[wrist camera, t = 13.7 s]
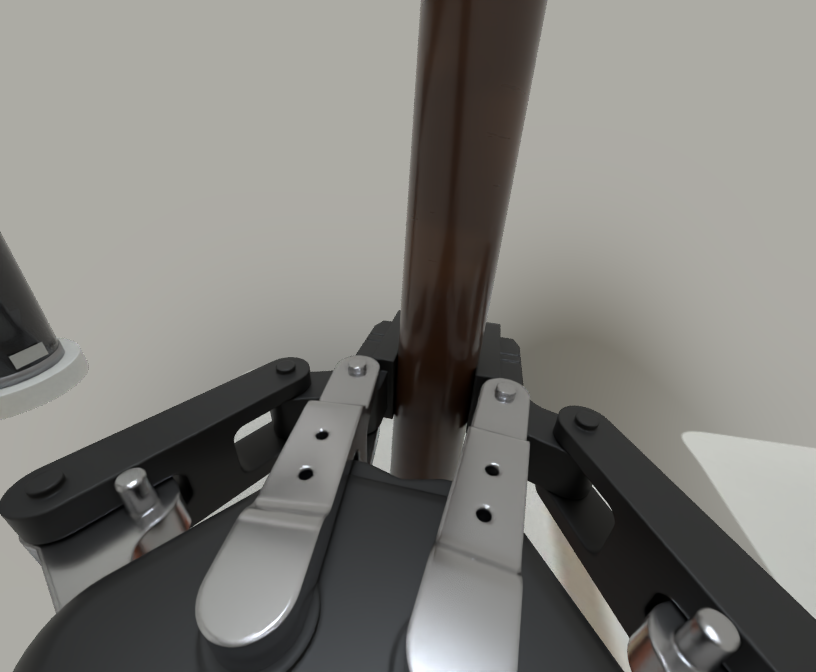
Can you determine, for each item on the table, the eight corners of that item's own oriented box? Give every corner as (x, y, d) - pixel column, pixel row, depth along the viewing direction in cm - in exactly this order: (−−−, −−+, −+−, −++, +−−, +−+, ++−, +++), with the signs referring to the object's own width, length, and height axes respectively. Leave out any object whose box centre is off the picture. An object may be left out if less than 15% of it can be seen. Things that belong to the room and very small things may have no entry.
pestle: (350, 690, 16) (333, -542, 3) (360, 575, 20) (370, -150, 8) (457, 690, 16) (821, -455, 4) (445, 577, 20) (589, -123, 8)
